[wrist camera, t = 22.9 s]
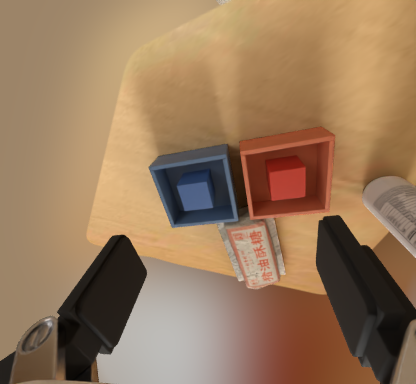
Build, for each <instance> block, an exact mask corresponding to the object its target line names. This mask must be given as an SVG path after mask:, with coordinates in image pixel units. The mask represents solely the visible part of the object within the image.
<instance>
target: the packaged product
mask: <svg viewBox="0 0 416 384" xmlns="http://www.w3.org/2000/svg"><path fill="white" fill-rule="evenodd" d="M238 218H239V221H234V222H224V223H216V224H217V226H218V229H219V231H220V234H221V237H222V239H223V242H224V244H225V247H226V250H227V252H228V255H229V257H230V260H231V262H232V265H233V268H234V270H235V273H236V276H237V278H238V281H245V283H246V286H247V287H248V288H253V289H260V288H262V287H265V286H267V285H271V284H274V283H276V282H278V281H279V280H280V276H281V274H283V275H286V273H285V268H284V262H283V258H282V254H281V249H280V244H279V240H278V235H277V231H276V225H275V220H274V218H265V219H255V220H250V215H249V208H248V207H242V208H238Z"/></svg>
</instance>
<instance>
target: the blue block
mask: <svg viewBox="0 0 416 384" xmlns="http://www.w3.org/2000/svg"><path fill="white" fill-rule="evenodd" d="M177 189H178V192H179V195H180V198H181V201H182V204H183V207H184V210H185V211H190V210H199V209H207V208H213V205H214V199H215V193H216V192H215V188H214V184H213V179H212V175H211V171H210V169H206V170H200V171H193V172H187V173H183V175H182V177H181V179H180V181H179V183H178V184H177Z"/></svg>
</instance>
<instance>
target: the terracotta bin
mask: <svg viewBox="0 0 416 384" xmlns="http://www.w3.org/2000/svg"><path fill="white" fill-rule="evenodd" d="M239 143H240V155H241V162H242V169H243V175H244V182H245V188H246V195H247V202H248V208H249V215H250V220H255V219H265V218H275V217H284V216H294V215H304V214H314V213H324V212H329V208H330V195H331V182H332V169H333V157H334V144H335V135H334V134H332V133H331V132H329V131H328V130H326V129H325V128H323V127H316V128H311V129H305V130H300V131H294V132H289V133H283V134H278V135H272V136H267V137H261V138H256V139H250V140H245V141H240V142H239ZM294 155H297V156H298V157H299V159H300V160H301V162H302V163H303V164H304V166H305V167H306V189H305V197H300V198H291V199H283V200H274V201H272V200H271V197H270V193H269V190H268V186H267V176H266V165H265V160H268V159H275V158H281V157H287V156H294Z"/></svg>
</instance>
